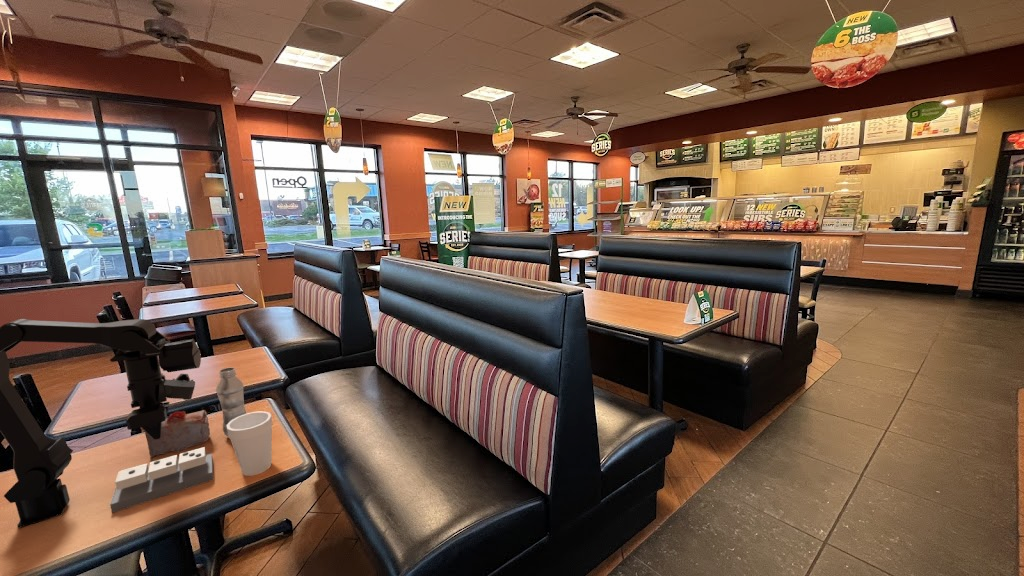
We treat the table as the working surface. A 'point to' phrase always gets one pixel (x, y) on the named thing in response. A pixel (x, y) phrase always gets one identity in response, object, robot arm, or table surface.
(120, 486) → the key one
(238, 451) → the foam cup
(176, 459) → the key two
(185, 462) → the key three
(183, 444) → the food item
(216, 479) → the table surface
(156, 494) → the keypad board
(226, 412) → the plastic bottle
